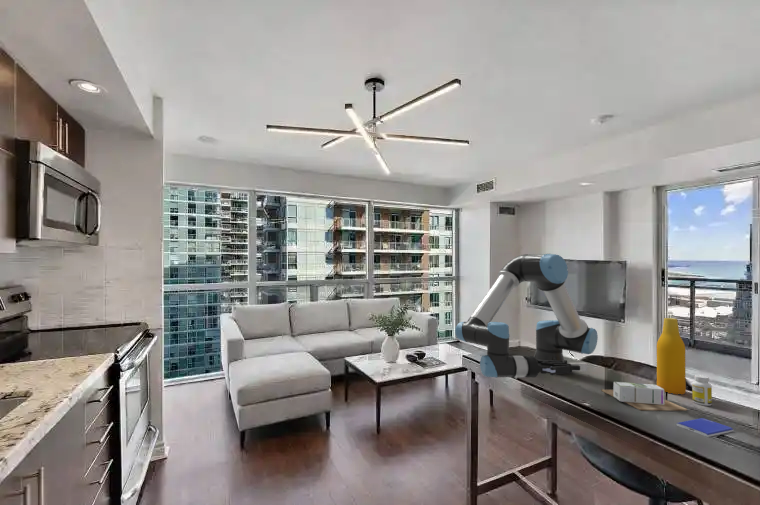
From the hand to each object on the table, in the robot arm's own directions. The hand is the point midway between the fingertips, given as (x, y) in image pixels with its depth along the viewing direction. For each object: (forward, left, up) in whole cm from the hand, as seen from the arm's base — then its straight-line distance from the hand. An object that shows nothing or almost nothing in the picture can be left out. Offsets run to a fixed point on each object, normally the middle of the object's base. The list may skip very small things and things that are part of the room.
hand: (586, 366), depth 136 cm
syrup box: (-9, +7, -8) cm, 14 cm away
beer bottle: (-41, +16, -12) cm, 46 cm away
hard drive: (-5, +32, -13) cm, 35 cm away
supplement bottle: (-33, +27, -12) cm, 44 cm away
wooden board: (-18, +12, -12) cm, 25 cm away
